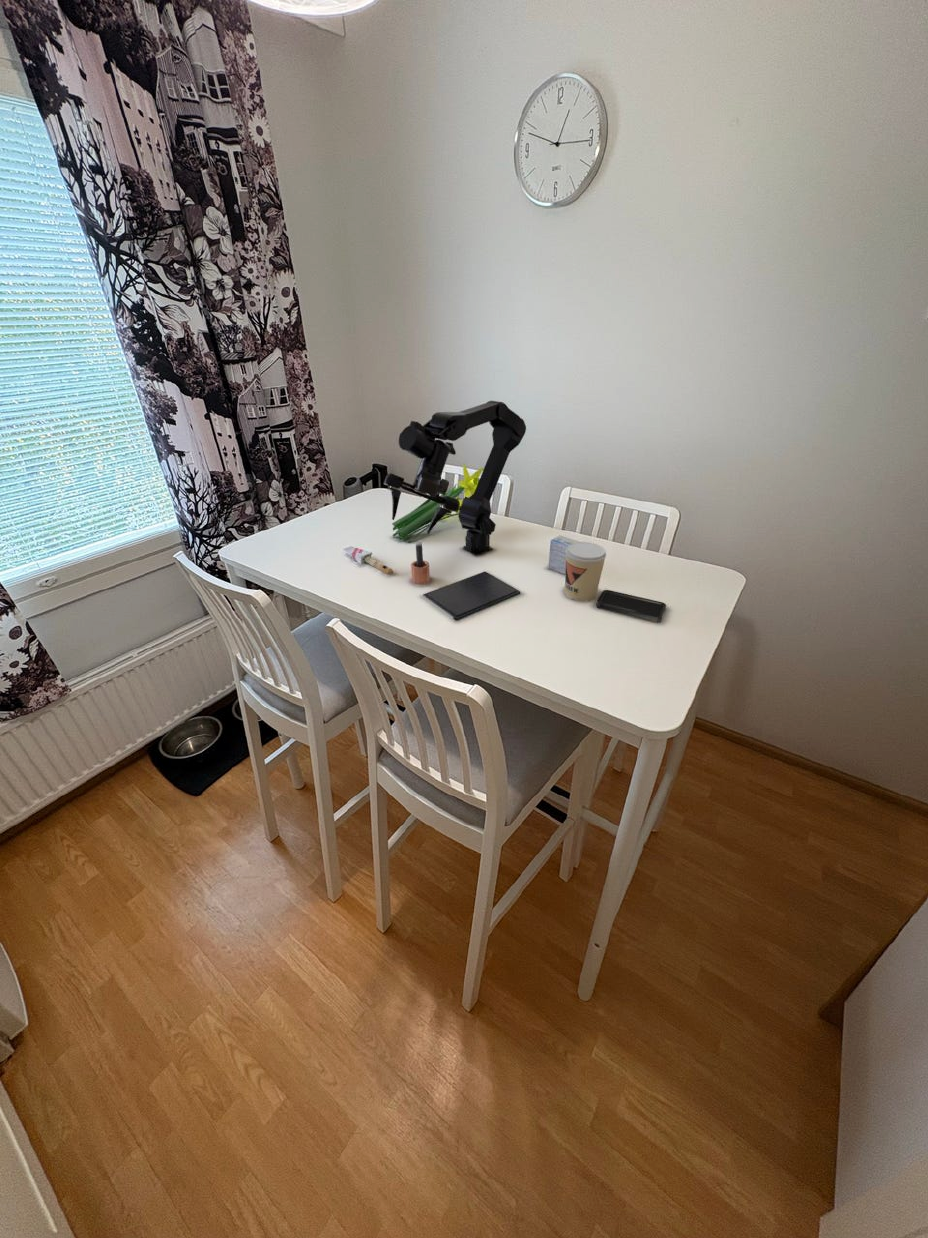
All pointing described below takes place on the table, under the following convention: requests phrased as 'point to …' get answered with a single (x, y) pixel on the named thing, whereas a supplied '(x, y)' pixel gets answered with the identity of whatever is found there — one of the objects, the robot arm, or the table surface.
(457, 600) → the tablet
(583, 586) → the coffee cup
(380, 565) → the paintbrush
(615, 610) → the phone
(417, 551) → the stylus
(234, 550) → the table surface
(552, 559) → the medicine box
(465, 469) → the daffodil flowers
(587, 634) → the table surface
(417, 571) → the pen cup
